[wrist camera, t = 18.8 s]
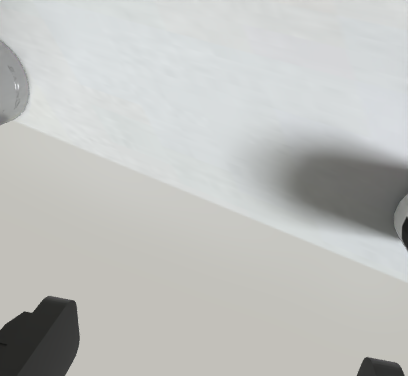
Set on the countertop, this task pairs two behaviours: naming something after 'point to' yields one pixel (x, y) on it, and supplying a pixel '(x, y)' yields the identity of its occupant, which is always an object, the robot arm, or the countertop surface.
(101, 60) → the countertop surface
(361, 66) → the countertop surface
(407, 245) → the supplement can
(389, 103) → the countertop surface
